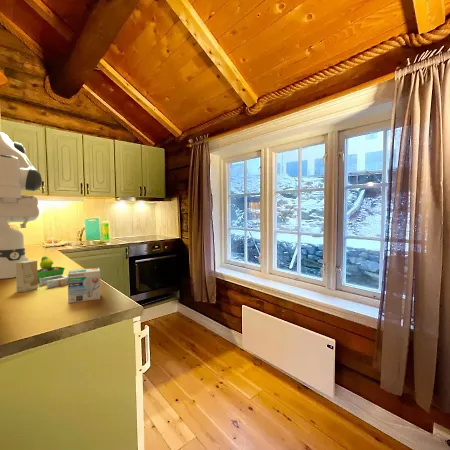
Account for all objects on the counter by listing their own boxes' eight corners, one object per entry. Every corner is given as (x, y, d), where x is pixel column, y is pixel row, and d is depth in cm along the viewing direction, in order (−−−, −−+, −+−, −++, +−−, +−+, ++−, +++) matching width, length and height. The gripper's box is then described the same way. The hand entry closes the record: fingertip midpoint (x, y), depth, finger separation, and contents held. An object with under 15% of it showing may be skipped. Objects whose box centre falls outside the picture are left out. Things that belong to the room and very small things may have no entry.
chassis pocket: (35, 283, 120) (35, 277, 120) (65, 277, 130) (65, 271, 130) (52, 289, 109) (52, 282, 109) (84, 283, 120) (84, 276, 120)
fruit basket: (40, 283, 120) (39, 259, 120) (31, 280, 125) (30, 257, 124) (65, 277, 130) (65, 255, 130) (56, 275, 135) (55, 254, 134)
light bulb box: (67, 303, 92) (67, 273, 92) (69, 298, 98) (68, 270, 98) (101, 299, 97) (100, 270, 97) (100, 294, 103) (99, 267, 103)
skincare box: (24, 292, 106) (23, 262, 105) (15, 291, 107) (14, 262, 106) (38, 288, 112) (37, 260, 112) (30, 287, 113) (29, 259, 112)
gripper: (34, 196, 115) (35, 227, 115) (-29, 193, 98) (-27, 229, 98) (40, 195, 111) (41, 227, 111) (-25, 191, 94) (-23, 229, 95)
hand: (9, 228), depth 105 cm, fingers open, 8 cm apart
